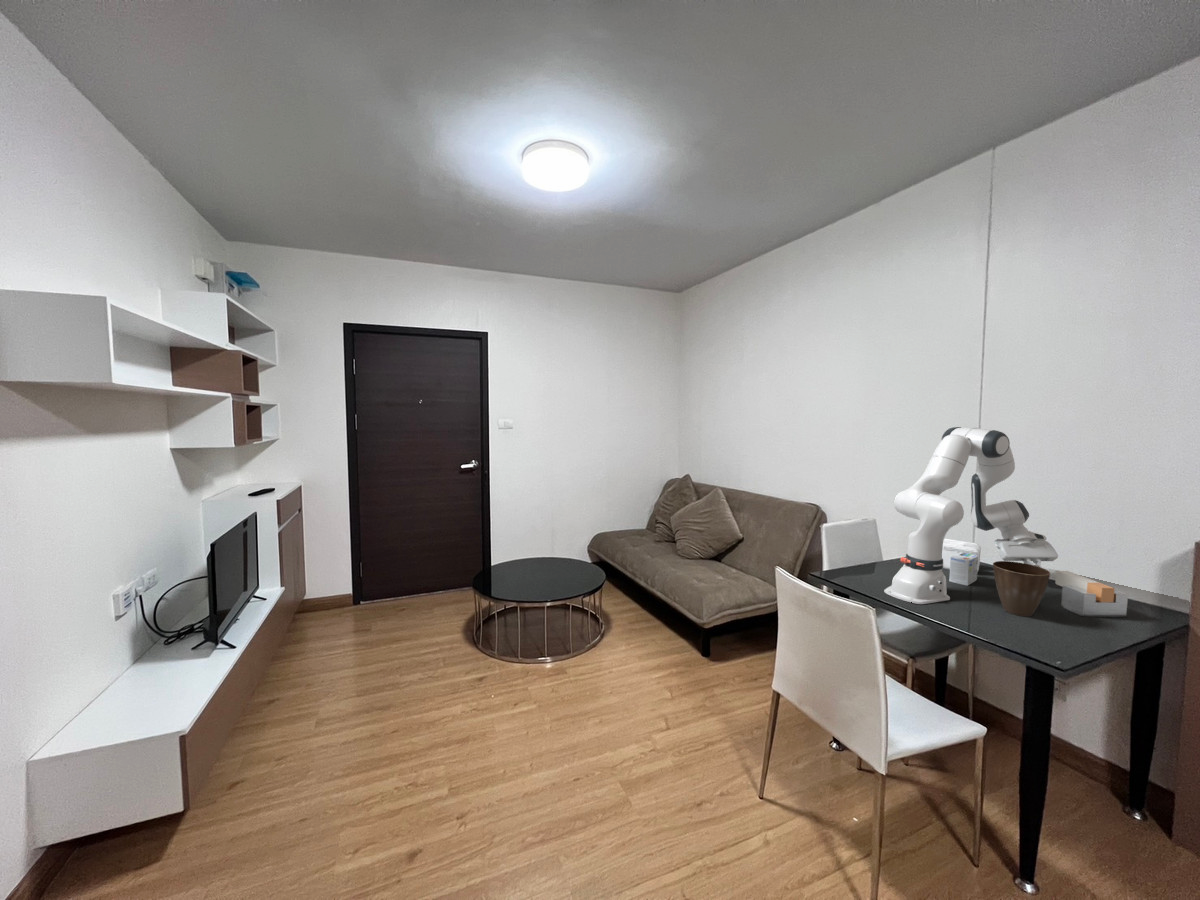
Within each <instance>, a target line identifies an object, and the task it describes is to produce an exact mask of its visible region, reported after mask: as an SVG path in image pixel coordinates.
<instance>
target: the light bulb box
mask: <svg viewBox="0 0 1200 900" xmlns="http://www.w3.org/2000/svg"><path fill="white" fill-rule="evenodd" d="M977 567H978V555H973V554H968V553H963V552H959V553H957V554H955V555H953V556H951V559H950V570H949V579H948V580H949V582H951V583H955V584H958V585H962V586H969V585H970V586H971V584H973V583H974V582H976V581H977V579H978V572H977Z"/></svg>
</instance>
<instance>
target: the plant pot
mask: <svg viewBox="0 0 1200 900" xmlns="http://www.w3.org/2000/svg"><path fill="white" fill-rule="evenodd" d="M1034 565H1035V564H1034ZM1034 565H1030V564H1025V563H1024V562H1020V561H1004V560H999V561H994V562H993V563H992V567H993V568H992V569H993V575H994V581H995V586H996V590H997V593H998V596H999V600H1000V602H1001V605H1002V609H1003V610H1004V611H1005V612H1006V613H1009V614H1012V615H1015V616H1021V617H1032V616H1033V615H1034V613H1035V612H1036V610H1037V608H1038V606H1039V605H1040V603H1041V601H1042V599H1043V597H1044V595H1045V593H1046V589H1047V587H1048V583H1049V580H1050V576H1051V571H1050V570H1048V569H1046V568H1043V567H1042V566H1041V567H1042V568H1041V567H1038V566H1034Z"/></svg>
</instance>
